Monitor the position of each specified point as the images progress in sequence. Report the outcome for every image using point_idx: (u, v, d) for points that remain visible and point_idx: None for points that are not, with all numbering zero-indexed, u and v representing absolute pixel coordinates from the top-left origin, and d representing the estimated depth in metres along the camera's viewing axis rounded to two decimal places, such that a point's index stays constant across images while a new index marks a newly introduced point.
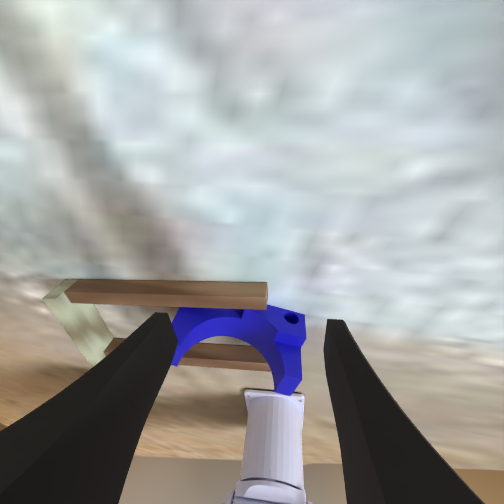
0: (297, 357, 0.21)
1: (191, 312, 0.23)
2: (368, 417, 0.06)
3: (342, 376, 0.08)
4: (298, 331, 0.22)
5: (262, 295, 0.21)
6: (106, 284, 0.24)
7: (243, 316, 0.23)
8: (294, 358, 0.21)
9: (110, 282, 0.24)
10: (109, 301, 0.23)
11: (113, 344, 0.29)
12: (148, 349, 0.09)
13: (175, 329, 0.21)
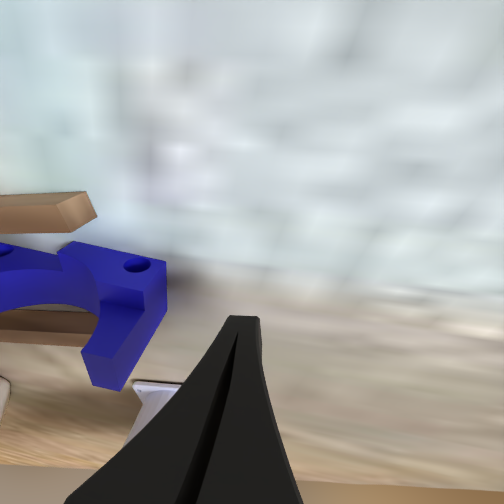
0: (128, 324, 0.13)
1: None
2: (233, 404, 0.07)
3: None
4: (135, 282, 0.13)
5: (54, 203, 0.12)
6: None
7: (63, 267, 0.15)
8: (121, 326, 0.12)
9: None
10: None
11: None
12: (234, 355, 0.09)
13: None
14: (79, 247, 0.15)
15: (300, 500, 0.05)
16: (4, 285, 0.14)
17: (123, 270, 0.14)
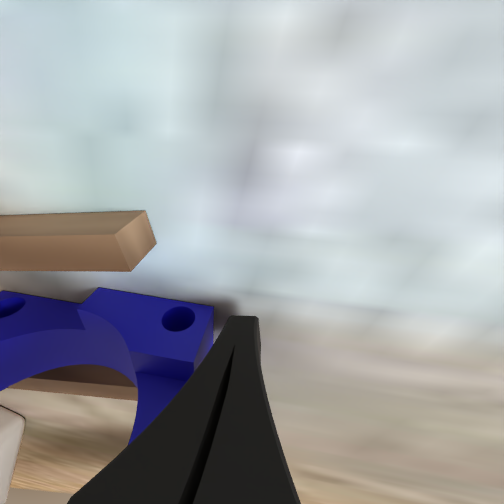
0: None
1: None
2: (231, 404, 0.07)
3: None
4: (180, 347, 0.10)
5: (110, 231, 0.08)
6: None
7: (85, 325, 0.11)
8: None
9: None
10: None
11: None
12: None
13: None
14: (104, 298, 0.12)
15: (297, 499, 0.05)
16: (15, 352, 0.11)
17: (162, 329, 0.10)
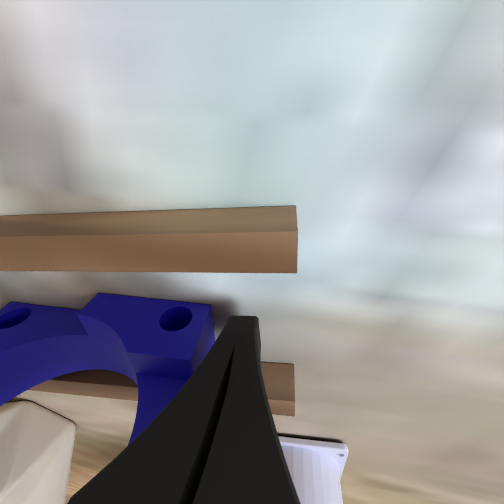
0: None
1: None
2: (231, 404, 0.07)
3: None
4: (177, 346, 0.10)
5: (287, 228, 0.07)
6: None
7: (87, 330, 0.12)
8: None
9: None
10: None
11: None
12: None
13: None
14: (103, 302, 0.12)
15: (297, 499, 0.05)
16: (23, 360, 0.12)
17: (160, 329, 0.10)
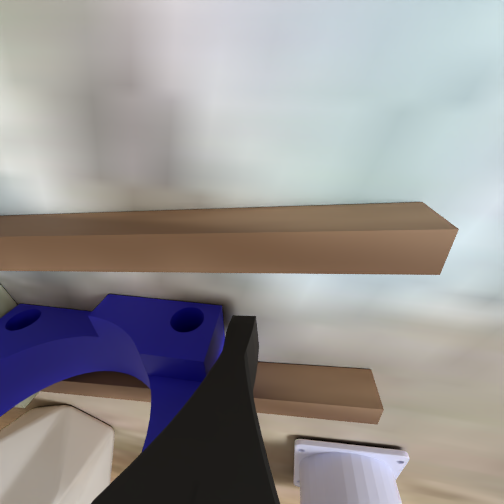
0: None
1: None
2: (217, 402, 0.07)
3: None
4: (190, 347, 0.10)
5: (442, 226, 0.06)
6: None
7: (98, 331, 0.12)
8: None
9: (10, 219, 0.10)
10: None
11: None
12: (249, 355, 0.09)
13: None
14: (114, 304, 0.12)
15: (275, 496, 0.05)
16: (34, 362, 0.12)
17: (172, 330, 0.10)
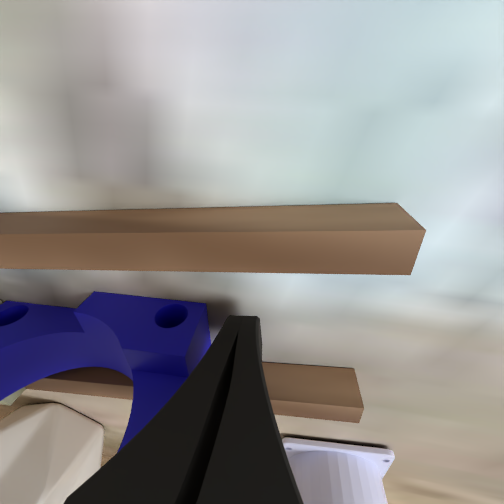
0: None
1: None
2: (233, 404, 0.07)
3: None
4: (172, 343, 0.10)
5: (410, 226, 0.07)
6: None
7: (84, 327, 0.12)
8: None
9: None
10: None
11: None
12: (234, 355, 0.09)
13: None
14: (99, 300, 0.12)
15: (300, 500, 0.05)
16: (20, 357, 0.12)
17: (155, 326, 0.11)
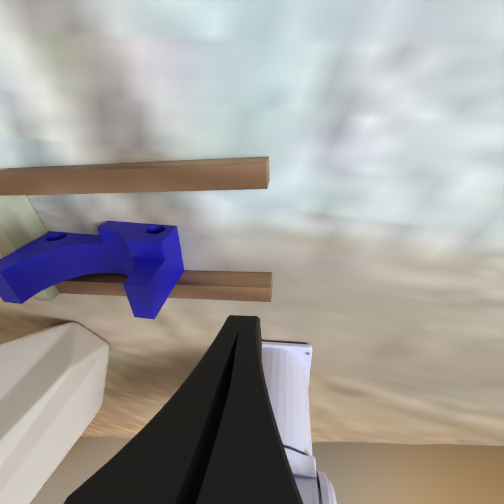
0: (154, 268, 0.17)
1: (42, 244, 0.19)
2: (233, 404, 0.07)
3: None
4: (155, 239, 0.17)
5: (261, 162, 0.14)
6: (44, 168, 0.17)
7: (103, 239, 0.19)
8: (148, 269, 0.17)
9: (51, 167, 0.17)
10: (47, 189, 0.17)
11: None
12: (234, 355, 0.09)
13: (8, 259, 0.18)
14: (112, 223, 0.19)
15: (300, 500, 0.05)
16: (64, 258, 0.20)
17: (145, 233, 0.18)
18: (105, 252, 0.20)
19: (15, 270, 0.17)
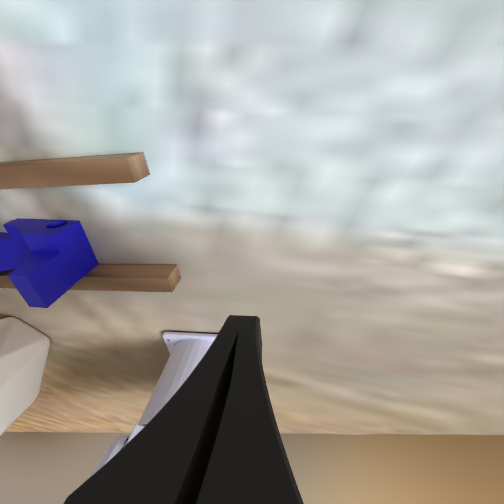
0: (45, 260, 0.18)
1: None
2: (233, 404, 0.07)
3: None
4: (49, 232, 0.18)
5: (124, 157, 0.15)
6: None
7: (11, 236, 0.20)
8: (40, 261, 0.18)
9: None
10: None
11: None
12: (234, 355, 0.09)
13: None
14: (20, 220, 0.21)
15: (300, 500, 0.05)
16: None
17: (44, 228, 0.19)
18: (17, 248, 0.21)
19: None
